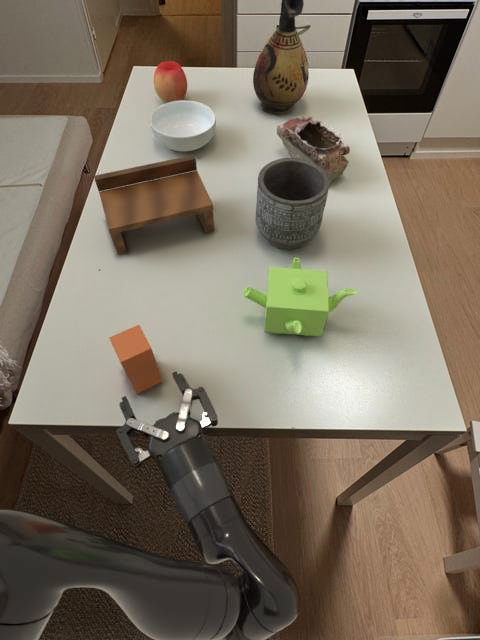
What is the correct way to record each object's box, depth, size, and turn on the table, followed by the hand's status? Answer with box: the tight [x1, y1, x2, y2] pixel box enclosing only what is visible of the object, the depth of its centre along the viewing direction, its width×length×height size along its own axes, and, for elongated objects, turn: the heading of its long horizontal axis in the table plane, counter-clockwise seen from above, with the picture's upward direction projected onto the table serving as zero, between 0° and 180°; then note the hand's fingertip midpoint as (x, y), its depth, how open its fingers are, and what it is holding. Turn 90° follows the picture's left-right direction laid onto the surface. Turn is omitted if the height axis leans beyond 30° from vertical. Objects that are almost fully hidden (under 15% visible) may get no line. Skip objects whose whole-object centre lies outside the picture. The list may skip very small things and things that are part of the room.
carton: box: [108, 324, 163, 395], centre depth 69 cm, size 5×5×12 cm
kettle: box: [242, 257, 358, 337], centre depth 76 cm, size 15×14×11 cm
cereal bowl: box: [149, 99, 217, 152], centre depth 109 cm, size 17×17×7 cm
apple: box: [153, 60, 188, 104], centre depth 119 cm, size 10×10×10 cm
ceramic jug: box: [252, 0, 310, 116], centre depth 110 cm, size 17×15×30 cm
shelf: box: [93, 154, 215, 255], centre depth 90 cm, size 22×14×11 cm, turn 110°
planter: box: [255, 157, 331, 251], centre depth 87 cm, size 14×14×15 cm
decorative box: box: [276, 115, 351, 183], centre depth 103 cm, size 13×20×10 cm, turn 28°
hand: (149, 386), depth 65 cm, fingers open, 8 cm apart
